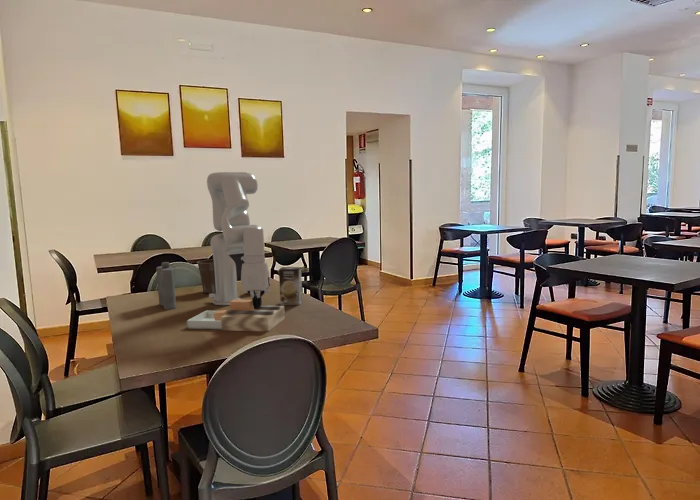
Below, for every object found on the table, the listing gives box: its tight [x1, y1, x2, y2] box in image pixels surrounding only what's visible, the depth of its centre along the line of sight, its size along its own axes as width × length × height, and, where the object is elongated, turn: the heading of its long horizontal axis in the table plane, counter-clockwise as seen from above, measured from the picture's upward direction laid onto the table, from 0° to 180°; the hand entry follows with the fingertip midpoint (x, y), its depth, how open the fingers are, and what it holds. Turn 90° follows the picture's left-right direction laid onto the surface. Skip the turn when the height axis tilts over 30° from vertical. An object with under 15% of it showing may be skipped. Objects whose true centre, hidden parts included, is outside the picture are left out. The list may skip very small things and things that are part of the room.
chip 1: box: [214, 309, 229, 321], centre depth 183 cm, size 4×4×4 cm
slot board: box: [221, 305, 286, 332], centre depth 181 cm, size 18×18×6 cm
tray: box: [186, 310, 222, 330], centre depth 184 cm, size 15×15×3 cm
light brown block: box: [229, 299, 243, 310], centre depth 182 cm, size 4×4×4 cm
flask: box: [155, 261, 177, 311], centre depth 215 cm, size 15×6×20 cm, turn 33°
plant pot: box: [196, 258, 216, 295], centre depth 245 cm, size 16×16×16 cm
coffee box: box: [278, 266, 303, 306], centre depth 213 cm, size 9×6×16 cm
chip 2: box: [240, 299, 254, 311], centre depth 181 cm, size 4×4×4 cm
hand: (257, 307), depth 180 cm, fingers closed
